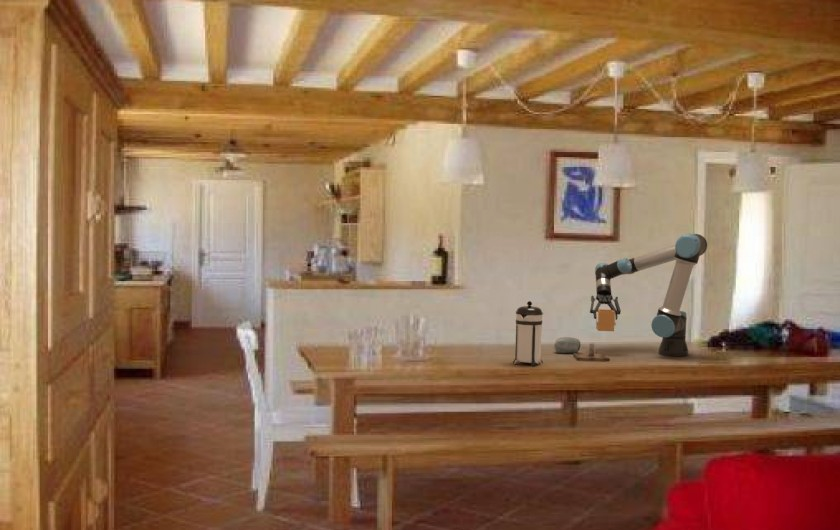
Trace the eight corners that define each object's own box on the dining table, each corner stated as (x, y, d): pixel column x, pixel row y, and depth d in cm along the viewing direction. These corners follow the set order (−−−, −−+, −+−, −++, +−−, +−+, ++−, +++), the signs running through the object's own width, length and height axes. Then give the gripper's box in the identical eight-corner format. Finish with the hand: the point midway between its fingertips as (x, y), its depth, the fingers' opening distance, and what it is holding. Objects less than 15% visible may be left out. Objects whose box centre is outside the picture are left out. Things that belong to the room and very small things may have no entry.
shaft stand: (605, 357, 454) (605, 342, 454) (609, 361, 440) (610, 346, 440) (573, 356, 455) (573, 341, 455) (577, 360, 441) (577, 345, 441)
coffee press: (550, 366, 421) (552, 302, 420) (517, 366, 418) (519, 302, 416) (538, 360, 438) (539, 299, 437) (506, 360, 435) (508, 299, 433)
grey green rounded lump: (577, 345, 472) (576, 330, 467) (583, 355, 464) (582, 340, 459) (552, 351, 471) (551, 335, 466) (558, 361, 463) (556, 346, 458)
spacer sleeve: (611, 329, 462) (612, 309, 461) (614, 331, 454) (614, 311, 453) (596, 328, 463) (597, 309, 462) (598, 330, 455) (598, 311, 454)
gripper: (622, 294, 472) (625, 329, 457) (582, 292, 473) (584, 327, 458) (624, 285, 466) (628, 320, 451) (584, 283, 468) (586, 318, 453)
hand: (606, 323), depth 455 cm, fingers closed on spacer sleeve, 8 cm apart
